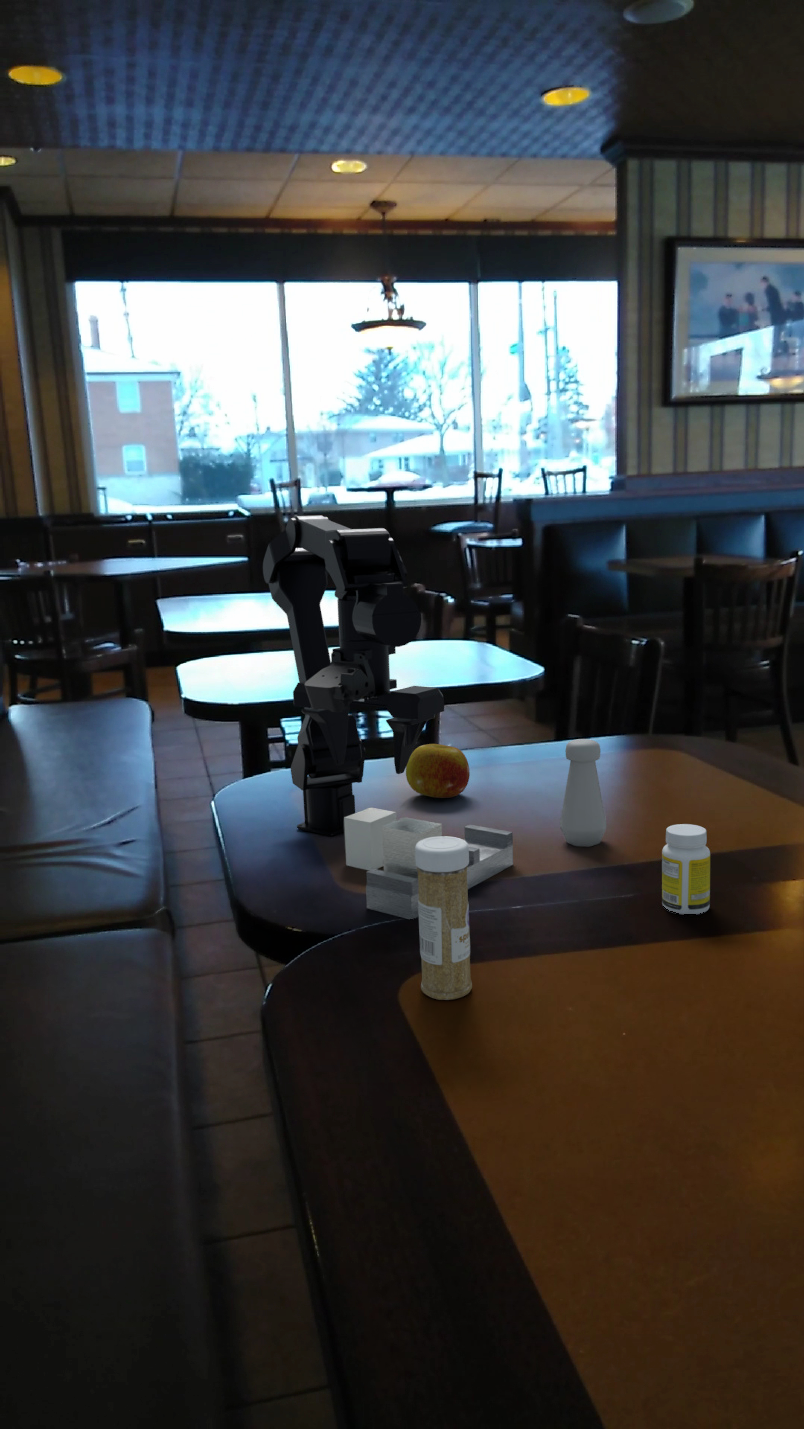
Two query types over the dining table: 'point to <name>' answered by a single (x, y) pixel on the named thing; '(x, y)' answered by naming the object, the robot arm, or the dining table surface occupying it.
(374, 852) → the matte gray box
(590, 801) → the salt shaker
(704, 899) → the supplement bottle
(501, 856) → the rail
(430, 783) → the fruit
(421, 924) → the spice jar
